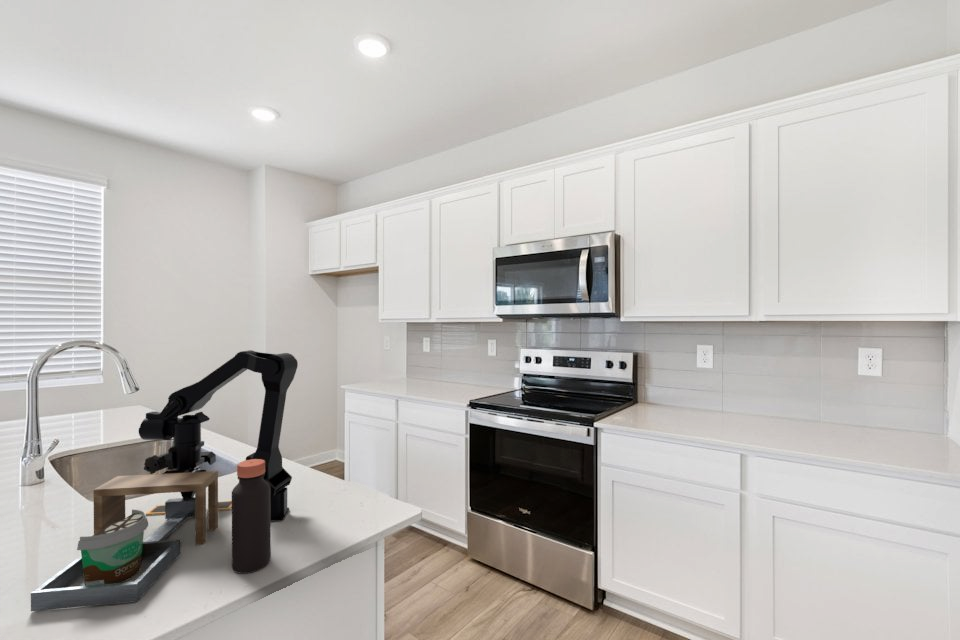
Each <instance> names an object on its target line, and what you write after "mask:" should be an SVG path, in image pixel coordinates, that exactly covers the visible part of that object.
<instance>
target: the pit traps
mask: <svg viewBox="0 0 960 640" xmlns="http://www.w3.org/2000/svg"><path fill="white" fill-rule="evenodd" d="M231 510H232V500H222V501H218V512H219V511H220V512H221V511H231ZM152 514H162V515H165V504H161V505H159V504H158V505H155V506H154V507H153V508H151V509H150V510H148V511H147V512H146V513H145V515H147V516H153V515H152Z"/></svg>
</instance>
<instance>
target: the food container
mask: <svg viewBox="0 0 960 640" xmlns="http://www.w3.org/2000/svg"><path fill="white" fill-rule="evenodd" d="M148 527H149V520H148V517H147V516H146V513H145V512H144V511H143V510H140V509H131V514H130V515H128V516H126V517H125V519H123V520H121V521H118V522H115V523H112V524H110V525H108V526H106V527H105V528H103V529H102V530H101V531H99V532H98V533H96V534H95V535H94V534H93V535H91V536H89V535H88V536H79V540H78V541H77V542H78V543H77V549H76V550H77V551H80V553H81V555H80V556H82V565H83V574H82V575H83V581H84V586H90V585H101V584H113V583H124V582H127V581H128V580H130V579H131V578H133V577H134V576H136V575H137V574H138V573H139V572H140V570H141V565H142V559H141V557H142V546H143V541H144V534H145V530H147V528H148Z"/></svg>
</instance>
